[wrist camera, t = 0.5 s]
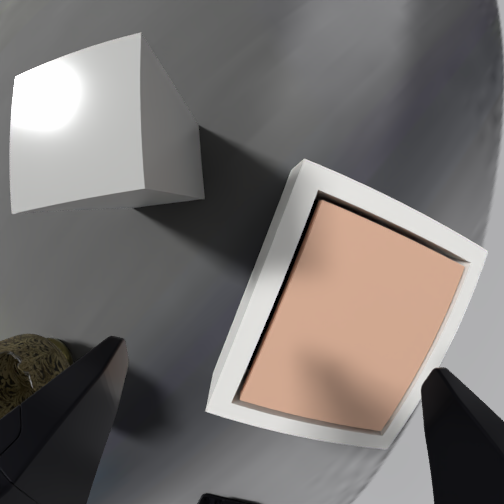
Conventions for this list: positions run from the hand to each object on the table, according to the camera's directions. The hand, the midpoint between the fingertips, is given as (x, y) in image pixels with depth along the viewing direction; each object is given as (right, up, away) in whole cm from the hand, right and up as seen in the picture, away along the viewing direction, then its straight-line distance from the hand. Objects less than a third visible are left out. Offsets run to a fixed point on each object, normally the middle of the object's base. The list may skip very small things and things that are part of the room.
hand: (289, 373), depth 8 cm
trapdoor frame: (+5, -1, +14) cm, 15 cm away
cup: (-17, -5, +14) cm, 23 cm away
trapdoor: (+5, -1, +14) cm, 15 cm away
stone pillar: (-7, +9, +12) cm, 17 cm away
